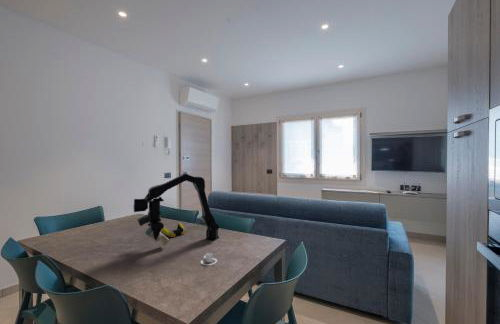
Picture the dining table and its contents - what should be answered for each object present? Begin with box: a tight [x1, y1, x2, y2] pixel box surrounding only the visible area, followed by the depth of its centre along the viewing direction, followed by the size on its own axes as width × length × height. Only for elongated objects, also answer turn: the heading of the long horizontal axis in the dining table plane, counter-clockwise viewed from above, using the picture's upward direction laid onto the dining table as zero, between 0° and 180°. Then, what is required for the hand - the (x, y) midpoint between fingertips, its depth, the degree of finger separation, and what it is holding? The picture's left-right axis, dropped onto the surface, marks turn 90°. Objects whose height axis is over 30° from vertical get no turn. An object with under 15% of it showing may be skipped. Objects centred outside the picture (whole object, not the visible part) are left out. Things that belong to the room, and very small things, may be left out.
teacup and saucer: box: [200, 252, 218, 266], centre depth 111 cm, size 9×8×4 cm
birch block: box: [144, 226, 170, 248], centre depth 127 cm, size 4×4×12 cm
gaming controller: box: [160, 223, 186, 238], centre depth 151 cm, size 15×6×10 cm
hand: (155, 238), depth 126 cm, fingers closed on birch block, 4 cm apart
